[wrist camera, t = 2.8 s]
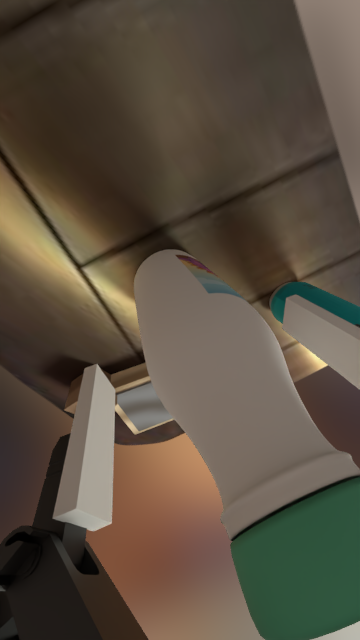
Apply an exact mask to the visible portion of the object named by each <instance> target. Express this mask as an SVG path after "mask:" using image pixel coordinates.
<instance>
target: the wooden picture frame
mask: <svg viewBox="0 0 360 640" xmlns="http://www.w3.org/2000/svg"><path fill="white" fill-rule="evenodd" d="M111 384H112V386H113V387H114V389H115V393H116V396H117V405H116V406H115V411H116V412H117V413H118V414H119V416H120V417H121V418H122V419H123V421H124V422H125V423H126V424H127V426H128V427H129V428H130V429H131V431H132V432H133V433H134V434H135V435H136V434H138V433H141V432H143V431H146V430H148V429H151V428H154V427H156V426H159V425H161V424H164V423H166V422H169V421H172V420H174V418H173V417H172V416H171V415H170V413H169V412H168V411H167V409H166V408H165V407H164V405H163V404H162V402H161V400H160V399H159V397H158V395H157V393H156V391H155V389H154V387H153V385H152V382H151V379H150V376H149V373H148V370H147V366H146V363H143V364H140V365H137V366H134V367H131V368H129V369H126V370H123V371H120V372H117V373H114V374H112V375H111Z"/></svg>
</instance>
